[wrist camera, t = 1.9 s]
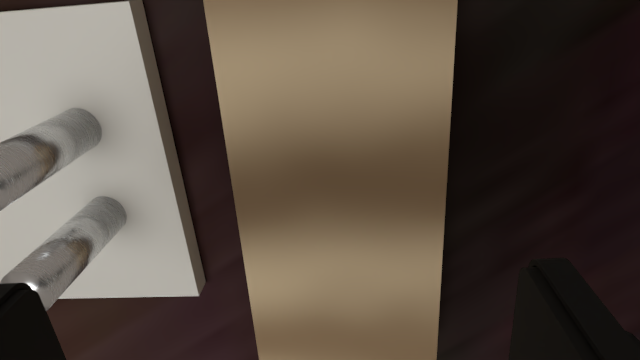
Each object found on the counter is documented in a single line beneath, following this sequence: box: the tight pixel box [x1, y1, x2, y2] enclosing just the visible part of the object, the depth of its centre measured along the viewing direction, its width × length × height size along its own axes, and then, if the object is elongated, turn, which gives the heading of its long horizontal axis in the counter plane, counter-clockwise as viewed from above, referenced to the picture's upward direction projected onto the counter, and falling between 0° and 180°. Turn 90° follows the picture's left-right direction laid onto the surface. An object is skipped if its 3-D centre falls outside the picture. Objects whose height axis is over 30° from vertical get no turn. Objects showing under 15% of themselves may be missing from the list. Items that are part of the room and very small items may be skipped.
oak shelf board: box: [203, 0, 458, 360], centre depth 17 cm, size 18×7×4 cm, turn 4°
